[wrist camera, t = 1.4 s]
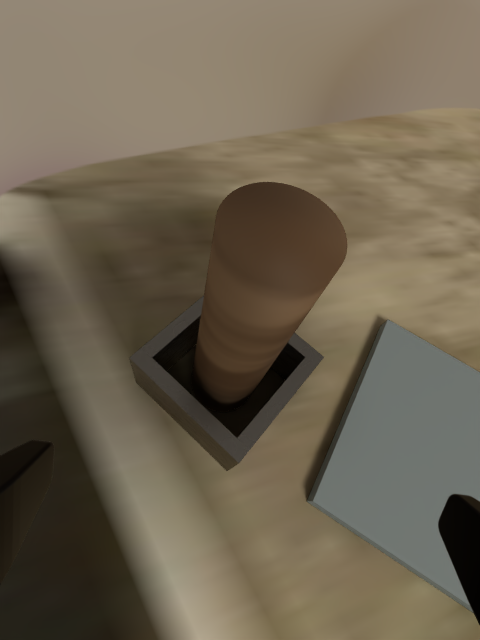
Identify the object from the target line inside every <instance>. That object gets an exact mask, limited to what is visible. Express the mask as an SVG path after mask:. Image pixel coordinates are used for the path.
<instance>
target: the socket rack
mask: <svg viewBox="0 0 480 640" xmlns="http://www.w3.org/2000/svg"><path fill="white" fill-rule="evenodd" d="M203 299H204V296H203V297H201V298H200V299H199V300H198V301H197V302H195V303H194V304H193V305H192V306H191V307H189V308H188V309H187V310H186V311H185V312H183V313H182V314H181V315H180V316H179V317H177V318H176V319H175V320H174V321H173V322H171V323H170V324H169V325H168V326H167V327H165V328H164V329H163V330H162V331H161V332H159V333H158V334H157V335H156V336H155V337H153V338H152V339H151V340H150V341H149V342H147V343H146V344H145V345H144V346H143V347H141V348H140V349H139V350H138V351H137V352H136V353H134V354H133V355H132V356H131V357H130V362H131V366H132V369H133V373H134V376H135V380H136V383H137V384H138V385H140V386H141V387H142V388H143V389H144V390H145V391H146V392H147V393H148V394H149V395H150V396H151V397H152V398H153V399H154V400H155V401H156V402H157V403H158V404H159V405H160V406H161V407H162V408H163V409H164V410H165V411H166V412H167V413H168V414H169V415H170V416H171V417H172V418H173V419H174V420H175V421H176V422H177V423H178V424H179V425H180V426H181V427H182V428H183V429H185V430H186V431H187V432H188V433H189V434H190V435H191V436H192V437H193V438H194V439H195V440H196V441H197V442H198V443H199V444H200V445H201V446H202V447H203V448H204V449H205V450H206V451H207V452H208V453H209V454H210V455H211V456H212V457H213V458H214V459H215V460H216V461H217V462H218V463H219V464H220V465H221V466H222V467H223V468H224V469H225V470H226V471H228V470H230V469H231V468H233V467H234V466H235V465H237V464H238V463H239V462H240V461H241V460H242V459H243V457H244V456H245V455H246V454H247V452H248V451H249V450H250V449H251V448H252V446H253V445H254V444H255V443H256V441H257V440H258V439H259V438H260V436H261V435H262V434H263V433H264V431H265V430H266V429H267V428H268V426H269V425H270V424H271V423H272V421H273V420H274V419H275V418H276V416H277V415H278V414H279V413H280V411H281V410H282V409H283V408H284V406H285V405H286V404H287V403H288V401H289V400H290V399H291V398H292V396H293V395H294V394H295V393H296V391H297V390H298V389H299V388H300V386H301V385H302V384H303V383H304V381H305V380H306V379H307V378H308V377H309V375H310V374H311V373H312V372H313V370H314V369H315V368H316V367H317V365H318V364H319V363H320V362H321V360H322V359H323V358H324V357H323V356H322V355H321V354H320V353H318V352H317V351H316V350H315V349H314V348H312V347H311V346H310V345H309V344H308V343H306V342H305V341H304V340H303V339H302V338H300V337H299V336H298V335H297V334H295V333H294V334H293V335H292V337H291V338H290V340H289V341H288V342H287V344H286V345H285V347H284V348H283V350H282V351H281V352H280V354H279V355H278V357H277V358H276V360H275V361H274V362H273V364H272V365H271V368H272V369H273V370H275V371H276V372H277V373H278V374H279V375H280V376H281V377H283V378H284V379H285V381H284V382H283V383H282V384H281V386H280V387H279V388H278V389H277V390H276V392H275V393H274V394H273V395H272V396H271V397H270V399H269V400H268V401H267V402H266V403H265V405H264V406H263V407H262V408H261V409H260V411H259V412H258V413H257V414H256V415H255V416H254V418H253V419H252V420H251V421H250V422H249V424H248V425H247V426H246V427H245V428H244V430H243V431H242V432H241V433H240V434H239V435H238V437H237V438H236V437H235V436H234V435H233V434H232V433H231V432H230V431H229V430H228V429H227V428H226V427H225V426H224V425H223V424H222V423H220V422H219V421H218V420H217V419H216V418H215V417H214V416H213V415H212V414H211V413H210V412H209V411H208V410H207V409H206V408H205V407H204V406H202V405H201V404H200V403H199V402H198V401H197V400H196V399H195V398H194V397H193V396H192V395H191V394H190V393H189V392H188V391H187V390H186V389H184V388H183V387H182V386H181V385H180V384H179V383H178V382H177V381H176V380H175V379H174V378H173V377H172V376H171V375H170V374H169V373H168V372H166V371H167V370H169V369H170V368H171V367H172V366H173V365H174V364H175V363H176V362H177V361H178V360H179V359H181V358H182V357H183V356H184V355H185V354H186V353H187V352H188V351H189V350H190V349H191V348H193V347H194V346H195V345H196V344H197V338H198V332H199V325H200V319H201V312H202V306H203Z"/></svg>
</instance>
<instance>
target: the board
mask: <svg viewBox="0 0 480 640" xmlns="http://www.w3.org/2000/svg"><path fill="white" fill-rule="evenodd" d="M452 494H462V495H469V496H472V497H473V498H475V499H477V500H478V501H480V372H478V371H476V370H475V369H473V368H471V367H469V366H468V365H466V364H464V363H462V362H461V361H459V360H457V359H456V358H454V357H452V356H450V355H449V354H447V353H445V352H443V351H442V350H440V349H438V348H437V347H435V346H433V345H431V344H430V343H428V342H426V341H425V340H423V339H421V338H419V337H418V336H416V335H414V334H412V333H411V332H409V331H407V330H406V329H404V328H402V327H400V326H399V325H397V324H395V323H393V322H392V321H390V320H387V321H386V322H384V323H383V324H382V325H381V327H380V329H379V331H378V334H377V336H376V339H375V341H374V343H373V346H372V348H371V350H370V353H369V355H368V357H367V360H366V362H365V365H364V367H363V369H362V372H361V374H360V376H359V379H358V381H357V384H356V386H355V388H354V391H353V393H352V395H351V398H350V400H349V403H348V405H347V407H346V410H345V412H344V414H343V417H342V419H341V421H340V424H339V426H338V429H337V431H336V433H335V436H334V438H333V440H332V443H331V445H330V448H329V450H328V452H327V455H326V457H325V459H324V462H323V464H322V467H321V469H320V471H319V474H318V476H317V478H316V481H315V483H314V486H313V488H312V490H311V493H310V495H309V497H308V500H307V502H308V503H310V504H311V505H313V506H314V507H316V508H317V509H319V510H320V511H322V512H323V513H325V514H326V515H328V516H329V517H331V518H332V519H334V520H335V521H337V522H338V523H340V524H341V525H343V526H344V527H346V528H347V529H349V530H350V531H352V532H353V533H355V534H356V535H358V536H359V537H361V538H362V539H364V540H365V541H367V542H368V543H370V544H371V545H373V546H374V547H376V548H377V549H379V550H380V551H382V552H383V553H385V554H386V555H388V556H389V557H391V558H392V559H394V560H395V561H397V562H398V563H400V564H401V565H403V566H404V567H406V568H407V569H409V570H410V571H412V572H413V573H415V574H416V575H418V576H419V577H421V578H422V579H424V580H425V581H427V582H428V583H430V584H431V585H433V586H434V587H435V588H437V589H438V590H440V591H441V592H443V593H444V594H446V595H447V596H449V597H450V598H452V599H453V600H455V601H456V602H458V603H459V604H461V605H462V606H464V607H465V608H467V609H468V610H470V611H471V612H473V611H472V609H471V606H470V604H469V602H468V600H467V597H466V595H465V593H464V590H463V588H462V586H461V583H460V581H459V578H458V576H457V574H456V571H455V569H454V566H453V564H452V562H451V559H450V557H449V554H448V552H447V550H446V547H445V545H444V542H443V540H442V538H441V535H440V533H439V529H438V521H439V518H440V515H441V513H442V511H443V509H444V506H445V504H446V502H447V499H448V497H449V496H450V495H452Z"/></svg>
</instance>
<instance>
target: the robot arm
mask: <svg viewBox="0 0 480 640" xmlns="http://www.w3.org/2000/svg"><path fill="white" fill-rule="evenodd" d="M53 462H54V445H53V443H52V442H49V441H42V440H31V441H28V442H26V443H24V444H22V445H20V446H18V447H16V448H14V449H12V450H10V451H8V452H6V453H4V454H2V455H0V584H1V583H2V581H3V579H4V578H5V576H6V574H7V572H8V571H9V569H10V567H11V565H12V564H13V562H14V560H15V558H16V556H17V554H18V552H19V550H20V547H21V545H22V543H23V541H24V539H25V537H26V535H27V533H28V531H29V529H30V526H31V524H32V522H33V520H34V518H35V516H36V514H37V512H38V510H39V508H40V505H41V503H42V501H43V499H44V497H45V495H46V493H47V491H48V489H49V486H50V484H51V481H52V476H53ZM438 529H439V533H440V535H441V538H442V540H443V542H444V545H445V547H446V550H447V552H448V554H449V557H450V559H451V562H452V564H453V566H454V569H455V571H456V574H457V576H458V578H459V581H460V583H461V586H462V588H463V590H464V593H465V595H466V597H467V600H468V602H469V604H470V606H471V609H472V611H473V613H474V615H475V617H476V619H477V621H478V623H479V625H480V501H478V500H477V499H475V498H473V497H472V496H469V495H462V494H452V495H450V496H449V497H448V499H447V502H446V504H445V506H444V509H443V511H442V513H441V515H440V518H439V521H438Z"/></svg>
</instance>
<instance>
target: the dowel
mask: <svg viewBox="0 0 480 640" xmlns="http://www.w3.org/2000/svg"><path fill="white" fill-rule="evenodd" d="M346 253H347V238H346V233H345V230H344V228H343V226H342V224H341V222H340V220H339V219H338V217H337V216H336V214H335V213H334V212H333V211H332V210H331V209H330V208H329V207H328V206H327V205H326V204H325V203H324V202H322V201H321V200H320V199H318V198H317V197H315V196H314V195H312V194H310V193H308V192H307V191H304V190H302V189H300V188H297V187H294V186H291V185H287V184H282V183H275V182H259V183H253V184H249V185H245V186H243V187H240V188H238V189H236V190H235V191H233V192H232V193H230V194H229V195H228V196H227V197H226V198H225V199H224V200H223V202H222V203H221V205H220V207H219V209H218V211H217V216H216V221H215V228H214V234H213V241H212V247H211V254H210V260H209V267H208V273H207V280H206V286H205V293H204V299H203V306H202V312H201V319H200V325H199V332H198V338H197V345H196V351H195V358H194V364H193V371H192V377H191V385H192V390H193V392H194V395H195V396H196V398H197V399H198V401H199V402H200V403H201V404H202V405H204V406H205V407H207V408H208V409H211V410H213V411H218V412H229V411H233V410H235V409H237V408H239V407H241V406H242V405H243V404H244V403H245V402H246V401H247V400H248V398H249V397H250V395H251V394H252V392H253V391H254V390H255V388H256V387H257V385H258V384H259V382H260V381H261V380H262V378H263V377H264V375H265V374H266V372H267V371H268V370H269V368H270V367H271V365H272V364H273V362H274V361H275V360H276V358H277V357H278V355H279V354H280V352H281V351H282V350H283V348H284V347H285V345H286V344H287V342H288V341H289V340H290V338H291V337H292V335H293V334H294V332H295V331H296V330H297V328H298V327H299V325H300V324H301V322H302V321H303V320H304V318H305V317H306V315H307V314H308V312H309V311H310V310H311V308H312V307H313V305H314V304H315V302H316V301H317V299H318V298H319V297H320V295H321V294H322V292H323V291H324V289H325V288H326V287H327V285H328V284H329V282H330V281H331V279H332V278H333V277H334V275H335V274H336V272H337V271H338V269H339V268H340V267H341V265H342V263H343V261H344V259H345V256H346Z"/></svg>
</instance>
